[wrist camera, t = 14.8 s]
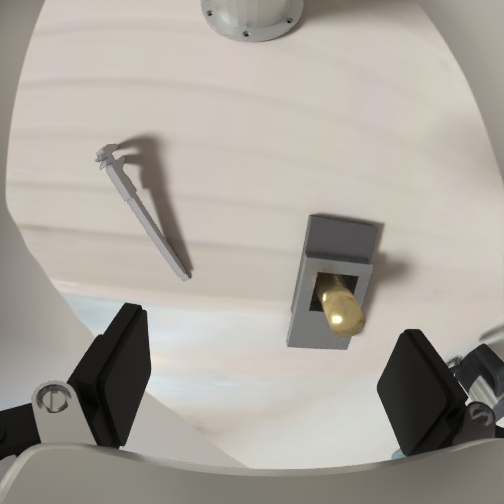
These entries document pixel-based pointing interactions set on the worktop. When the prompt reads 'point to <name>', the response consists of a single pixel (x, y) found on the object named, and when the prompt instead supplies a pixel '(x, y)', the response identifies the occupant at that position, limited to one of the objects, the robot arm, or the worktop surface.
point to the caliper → (137, 205)
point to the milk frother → (483, 378)
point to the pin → (339, 305)
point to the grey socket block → (329, 261)
